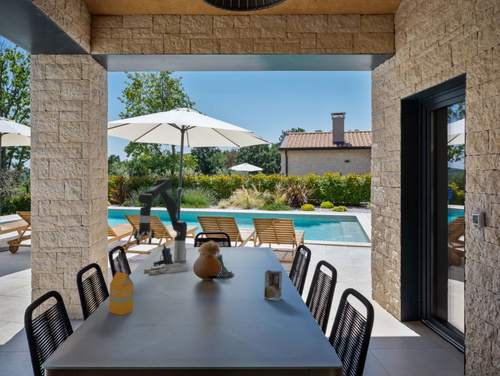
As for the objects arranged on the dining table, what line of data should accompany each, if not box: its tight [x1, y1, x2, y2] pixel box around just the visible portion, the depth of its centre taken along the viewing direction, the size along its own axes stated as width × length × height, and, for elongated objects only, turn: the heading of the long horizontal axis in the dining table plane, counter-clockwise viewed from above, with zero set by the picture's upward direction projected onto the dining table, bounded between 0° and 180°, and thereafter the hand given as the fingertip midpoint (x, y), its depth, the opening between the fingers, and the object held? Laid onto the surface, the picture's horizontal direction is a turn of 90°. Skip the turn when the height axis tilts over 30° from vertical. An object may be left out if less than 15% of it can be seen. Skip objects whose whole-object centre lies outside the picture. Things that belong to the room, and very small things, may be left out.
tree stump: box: [216, 253, 235, 279], centre depth 271 cm, size 18×20×18 cm
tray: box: [160, 262, 188, 274], centre depth 284 cm, size 16×13×3 cm
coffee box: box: [263, 269, 283, 302], centre depth 221 cm, size 9×6×16 cm
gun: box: [153, 243, 175, 267], centre depth 297 cm, size 3×17×15 cm
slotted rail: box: [143, 267, 169, 276], centre depth 274 cm, size 14×9×2 cm, turn 130°
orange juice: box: [108, 271, 134, 316], centre depth 192 cm, size 8×9×20 cm
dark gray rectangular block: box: [150, 266, 159, 271], centre depth 274 cm, size 4×4×4 cm
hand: (143, 244), depth 267 cm, fingers open, 8 cm apart
